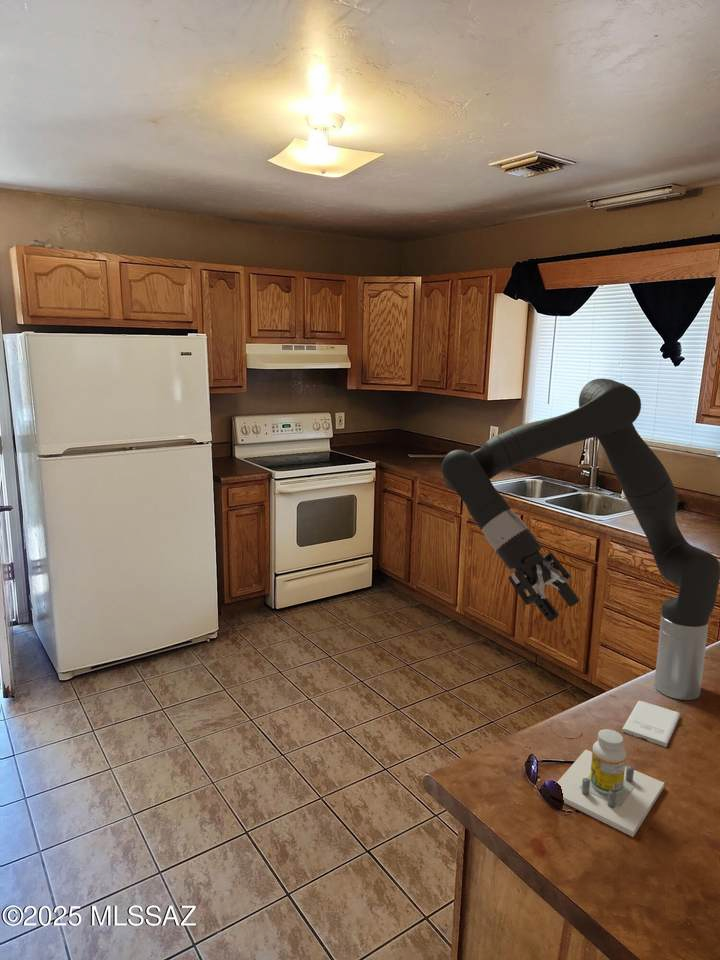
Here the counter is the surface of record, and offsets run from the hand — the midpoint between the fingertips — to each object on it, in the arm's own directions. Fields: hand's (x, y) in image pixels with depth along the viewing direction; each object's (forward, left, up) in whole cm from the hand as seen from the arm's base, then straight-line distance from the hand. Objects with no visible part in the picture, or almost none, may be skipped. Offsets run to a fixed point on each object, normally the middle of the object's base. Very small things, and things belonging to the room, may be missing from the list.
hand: (565, 611), depth 114 cm
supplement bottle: (+5, +11, -27) cm, 30 cm away
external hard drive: (-21, +11, -29) cm, 37 cm away
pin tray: (+5, +12, -28) cm, 31 cm away
